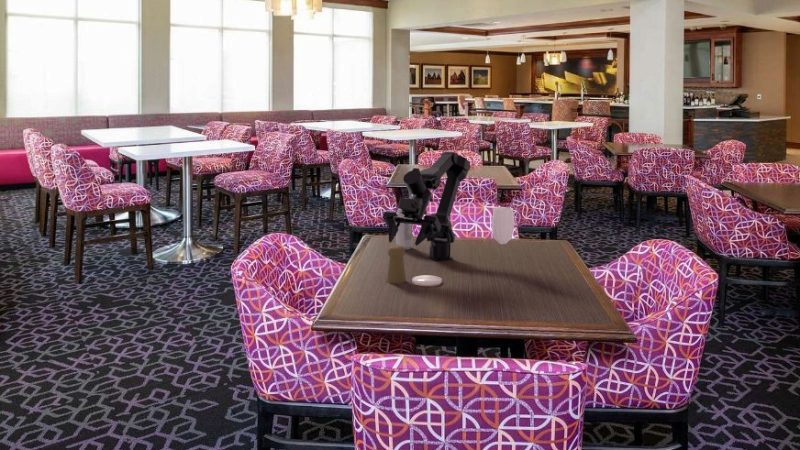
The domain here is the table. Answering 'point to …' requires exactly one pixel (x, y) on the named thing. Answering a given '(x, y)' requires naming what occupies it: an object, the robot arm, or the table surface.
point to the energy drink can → (404, 234)
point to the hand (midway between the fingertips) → (402, 243)
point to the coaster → (427, 280)
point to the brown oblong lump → (396, 265)
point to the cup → (503, 224)
